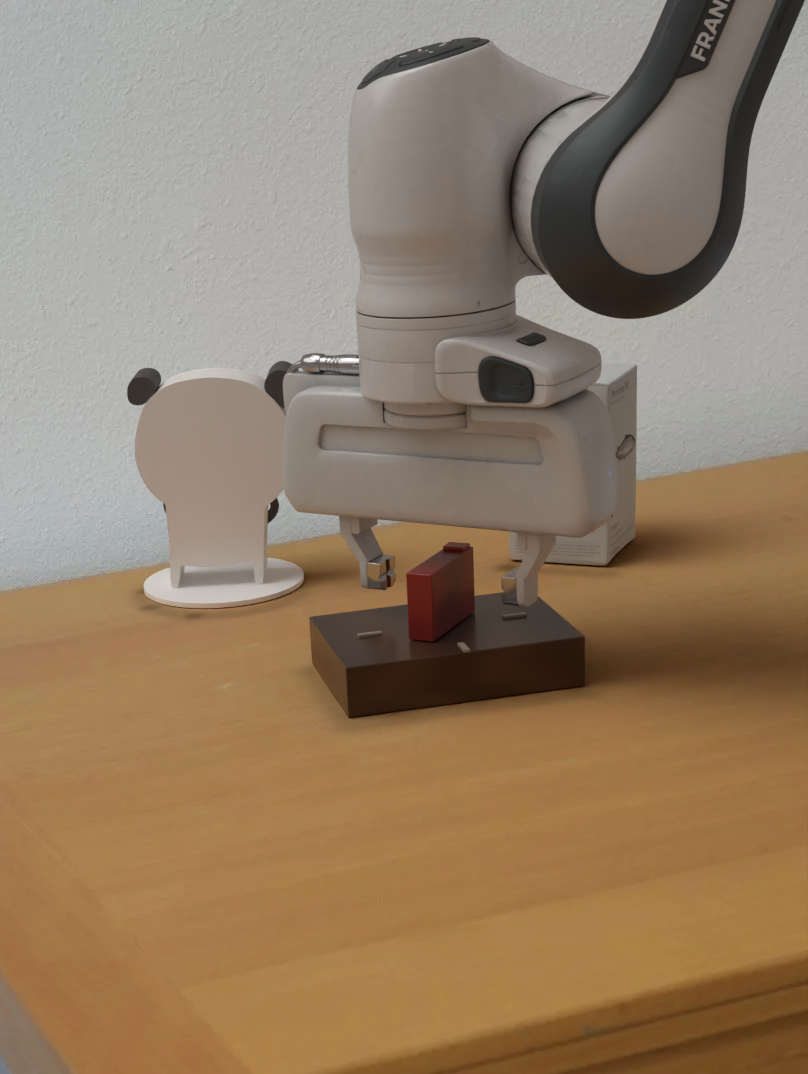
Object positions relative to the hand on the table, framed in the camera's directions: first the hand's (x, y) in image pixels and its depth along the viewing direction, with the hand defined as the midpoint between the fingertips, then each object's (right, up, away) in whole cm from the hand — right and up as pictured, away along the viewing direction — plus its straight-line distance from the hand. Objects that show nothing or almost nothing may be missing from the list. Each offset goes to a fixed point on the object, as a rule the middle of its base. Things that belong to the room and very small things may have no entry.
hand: (447, 595), depth 107 cm
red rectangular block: (0, -2, 0) cm, 2 cm away
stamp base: (0, -5, +1) cm, 5 cm away
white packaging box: (+11, +6, +23) cm, 26 cm away
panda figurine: (-13, +3, +22) cm, 26 cm away
